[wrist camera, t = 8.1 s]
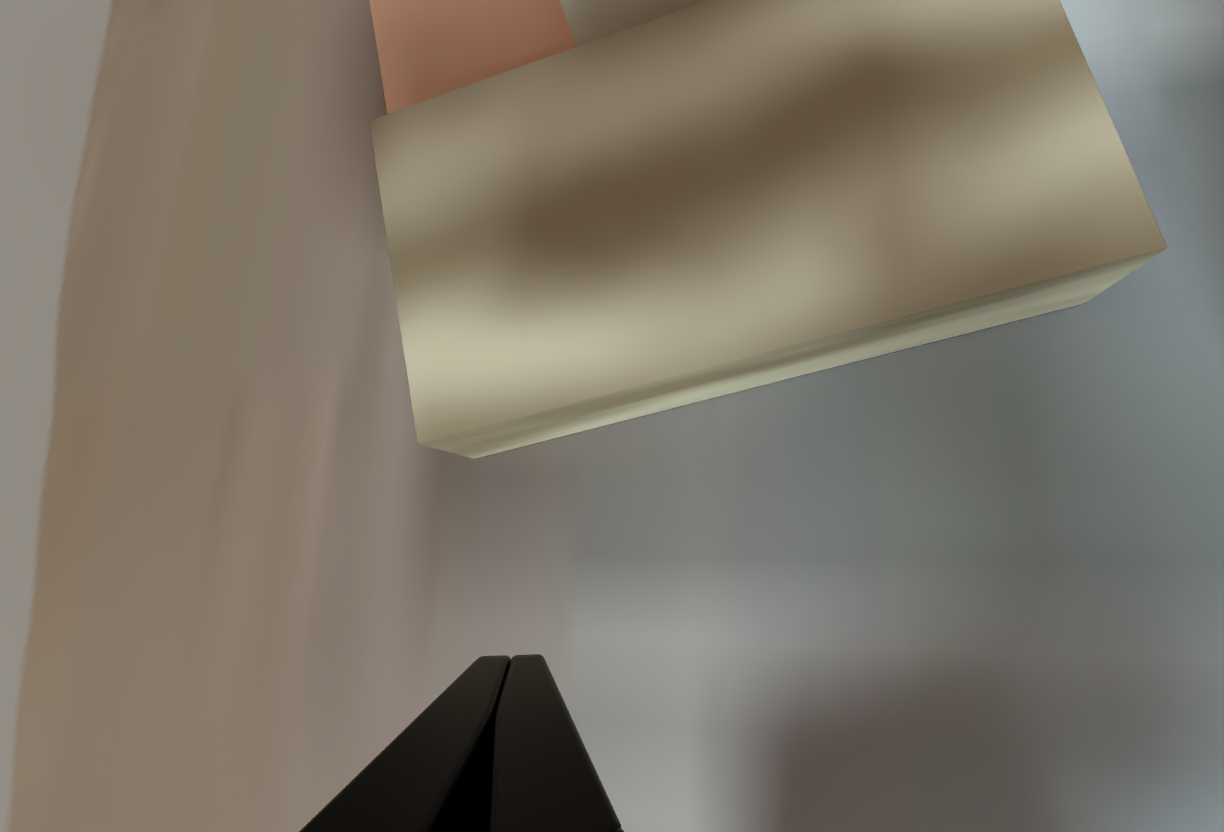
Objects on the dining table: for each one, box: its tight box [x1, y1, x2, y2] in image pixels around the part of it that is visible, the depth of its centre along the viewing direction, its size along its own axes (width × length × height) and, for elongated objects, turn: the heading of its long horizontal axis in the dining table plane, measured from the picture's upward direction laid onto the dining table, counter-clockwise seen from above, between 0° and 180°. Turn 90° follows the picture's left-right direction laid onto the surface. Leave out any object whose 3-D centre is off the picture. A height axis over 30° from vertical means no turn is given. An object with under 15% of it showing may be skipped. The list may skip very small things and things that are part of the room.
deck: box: [369, 0, 1167, 459], centre depth 21 cm, size 11×20×4 cm, turn 103°
